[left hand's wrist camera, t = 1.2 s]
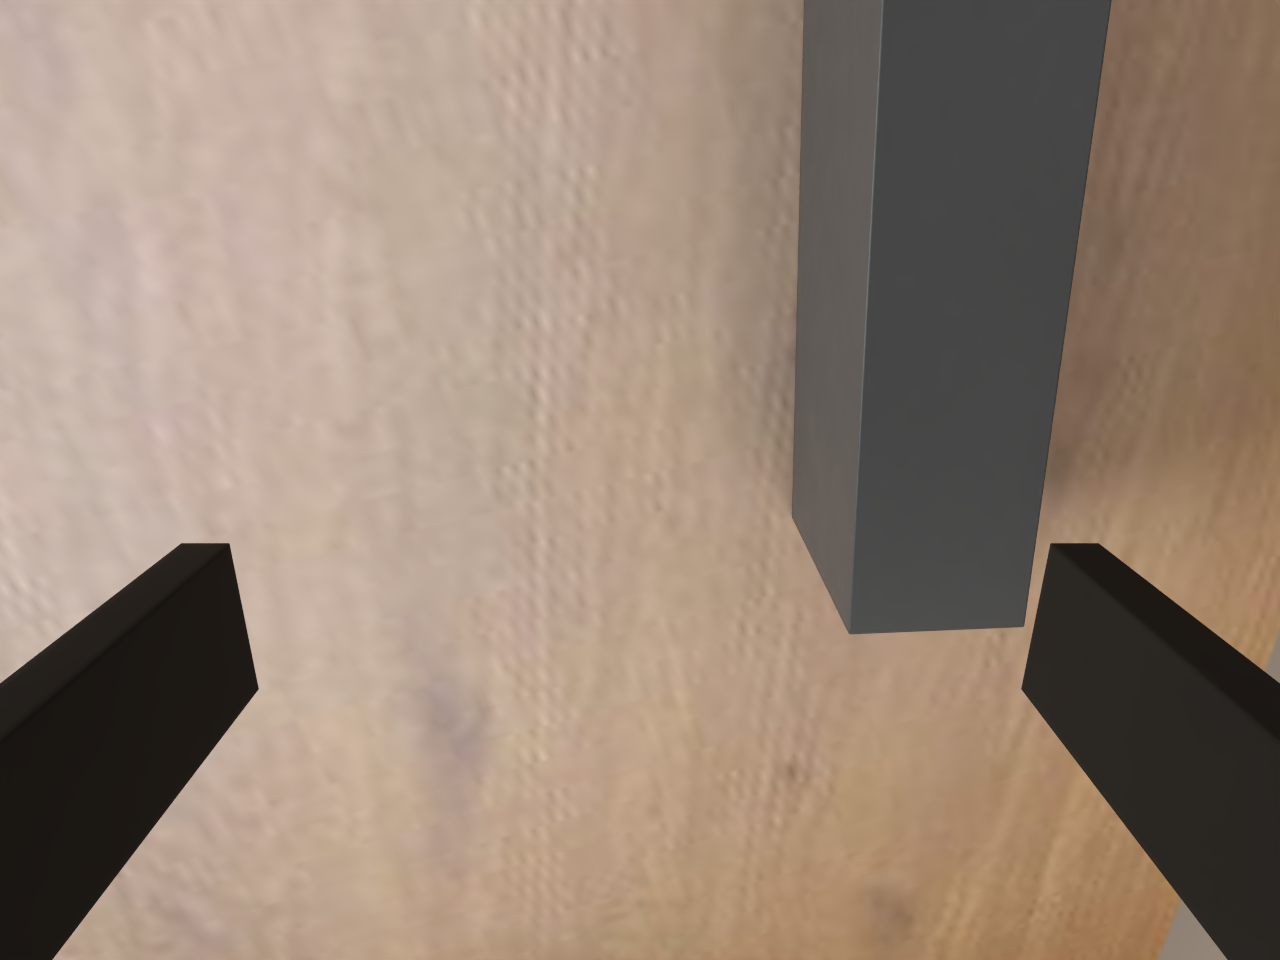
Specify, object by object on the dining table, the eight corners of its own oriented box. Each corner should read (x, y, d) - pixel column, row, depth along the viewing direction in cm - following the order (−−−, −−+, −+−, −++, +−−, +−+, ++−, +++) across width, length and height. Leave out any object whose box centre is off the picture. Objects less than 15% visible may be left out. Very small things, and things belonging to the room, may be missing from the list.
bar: (920, 512, 32) (1024, 627, 23) (791, 518, 32) (848, 635, 23) (974, -132, 24) (1155, -306, 16) (806, -123, 24) (897, -292, 16)
